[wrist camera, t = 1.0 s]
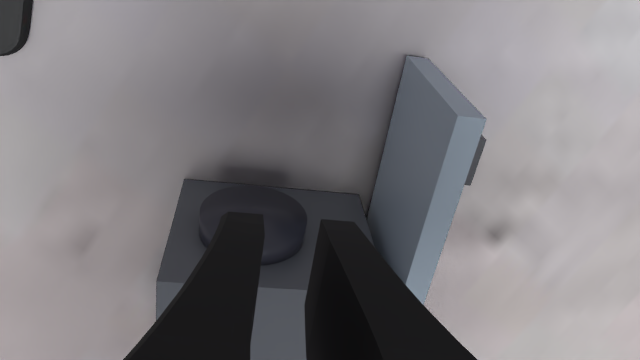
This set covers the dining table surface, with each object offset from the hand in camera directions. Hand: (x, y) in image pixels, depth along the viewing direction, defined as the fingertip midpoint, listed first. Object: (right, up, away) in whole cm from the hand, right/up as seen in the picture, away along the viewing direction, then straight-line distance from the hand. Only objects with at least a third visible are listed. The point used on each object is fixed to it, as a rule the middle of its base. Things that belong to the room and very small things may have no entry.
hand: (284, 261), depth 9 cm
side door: (+3, -1, +13) cm, 13 cm away
